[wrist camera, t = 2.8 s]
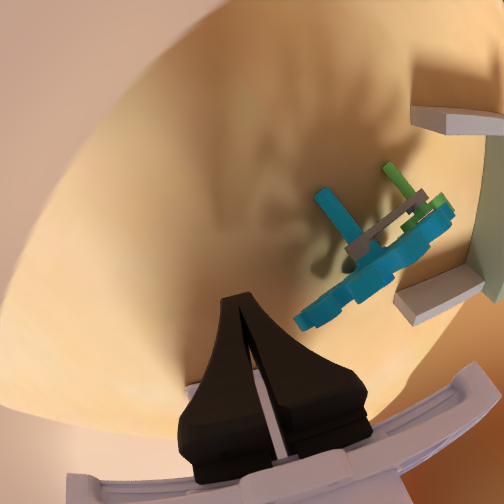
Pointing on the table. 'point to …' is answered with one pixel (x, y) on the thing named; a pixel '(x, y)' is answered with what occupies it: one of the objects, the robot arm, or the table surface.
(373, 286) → the blue toy cog wheel
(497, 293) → the green u-shaped bracket
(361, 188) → the table surface
